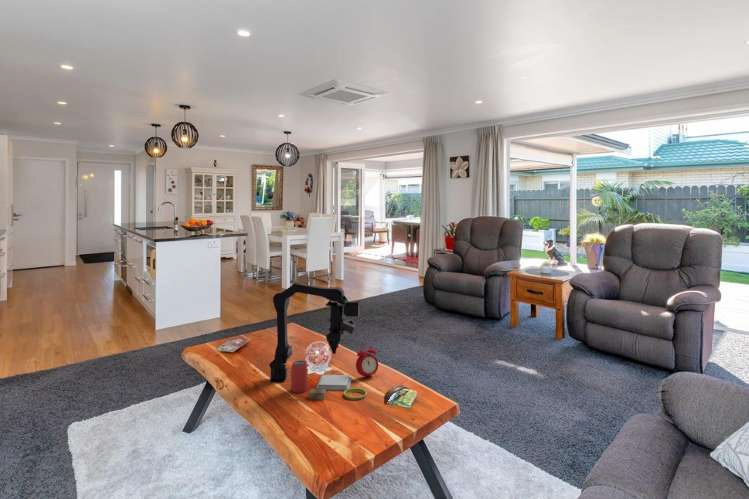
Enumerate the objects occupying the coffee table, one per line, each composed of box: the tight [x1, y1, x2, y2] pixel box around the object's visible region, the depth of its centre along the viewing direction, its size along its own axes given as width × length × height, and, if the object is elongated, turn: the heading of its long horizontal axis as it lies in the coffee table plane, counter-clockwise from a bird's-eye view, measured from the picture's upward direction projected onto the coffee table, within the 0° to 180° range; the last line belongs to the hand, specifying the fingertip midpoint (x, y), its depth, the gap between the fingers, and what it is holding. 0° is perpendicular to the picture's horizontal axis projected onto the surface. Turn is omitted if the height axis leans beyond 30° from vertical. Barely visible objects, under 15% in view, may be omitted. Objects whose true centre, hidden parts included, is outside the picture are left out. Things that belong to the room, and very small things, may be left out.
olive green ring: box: [343, 387, 368, 401], centre depth 170 cm, size 9×9×9 cm
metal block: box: [308, 388, 327, 401], centre depth 168 cm, size 6×4×3 cm, turn 88°
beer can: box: [290, 359, 308, 394], centre depth 175 cm, size 7×7×12 cm
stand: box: [315, 374, 353, 392], centre depth 182 cm, size 14×14×2 cm
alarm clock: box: [355, 343, 379, 380], centre depth 192 cm, size 10×6×15 cm, turn 117°
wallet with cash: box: [383, 384, 409, 403], centre depth 173 cm, size 15×3×8 cm, turn 140°
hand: (335, 350), depth 184 cm, fingers open, 9 cm apart
